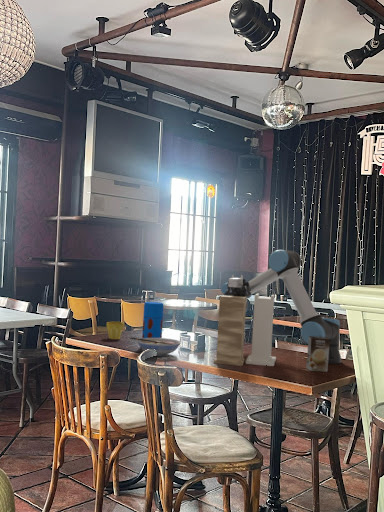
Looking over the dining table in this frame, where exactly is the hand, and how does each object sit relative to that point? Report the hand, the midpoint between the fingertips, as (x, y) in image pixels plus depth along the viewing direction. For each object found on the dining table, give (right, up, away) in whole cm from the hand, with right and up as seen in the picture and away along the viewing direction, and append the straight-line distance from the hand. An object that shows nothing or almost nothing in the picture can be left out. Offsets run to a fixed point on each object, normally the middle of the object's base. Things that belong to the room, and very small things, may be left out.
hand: (237, 276), depth 297 cm
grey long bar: (-1, -5, -5) cm, 7 cm away
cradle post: (+12, -43, -5) cm, 45 cm away
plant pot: (-71, -39, +46) cm, 93 cm away
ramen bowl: (-41, -41, -2) cm, 58 cm away
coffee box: (+38, -45, -19) cm, 62 cm away
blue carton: (-46, -40, +21) cm, 65 cm away
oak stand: (-5, -42, -11) cm, 44 cm away
